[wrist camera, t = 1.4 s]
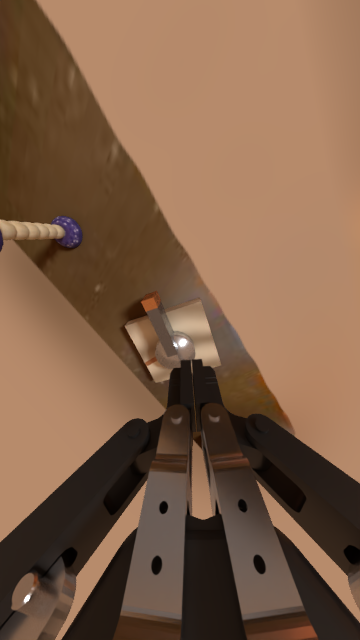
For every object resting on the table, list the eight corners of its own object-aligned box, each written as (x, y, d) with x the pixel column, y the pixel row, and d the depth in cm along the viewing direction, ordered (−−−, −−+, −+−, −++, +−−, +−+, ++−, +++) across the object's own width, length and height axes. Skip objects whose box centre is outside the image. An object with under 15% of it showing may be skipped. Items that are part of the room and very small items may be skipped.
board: (219, 358, 35) (221, 366, 32) (157, 375, 37) (155, 383, 35) (199, 297, 29) (201, 301, 27) (128, 321, 31) (124, 327, 29)
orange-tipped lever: (199, 357, 32) (201, 371, 28) (165, 366, 33) (163, 381, 29) (172, 285, 26) (170, 291, 23) (131, 299, 27) (124, 307, 24)
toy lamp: (89, 246, 26) (-40, 250, 11) (64, 256, 26) (-93, 273, 11) (72, 211, 24) (-115, 156, 9) (45, 223, 25) (-174, 190, 9)
